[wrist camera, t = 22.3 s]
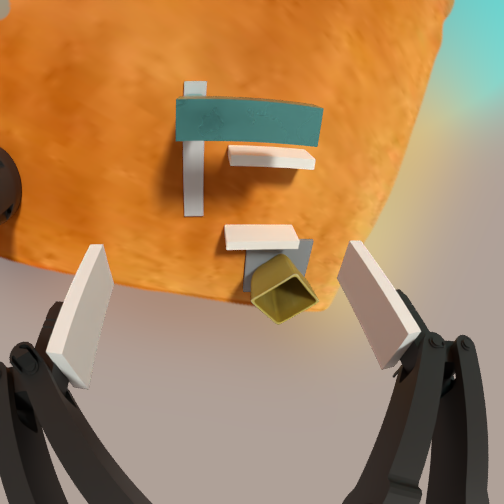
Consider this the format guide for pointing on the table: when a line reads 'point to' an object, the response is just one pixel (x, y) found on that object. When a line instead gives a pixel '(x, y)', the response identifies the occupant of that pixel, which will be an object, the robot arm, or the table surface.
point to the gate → (247, 120)
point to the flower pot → (281, 289)
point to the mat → (263, 255)
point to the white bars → (240, 156)
